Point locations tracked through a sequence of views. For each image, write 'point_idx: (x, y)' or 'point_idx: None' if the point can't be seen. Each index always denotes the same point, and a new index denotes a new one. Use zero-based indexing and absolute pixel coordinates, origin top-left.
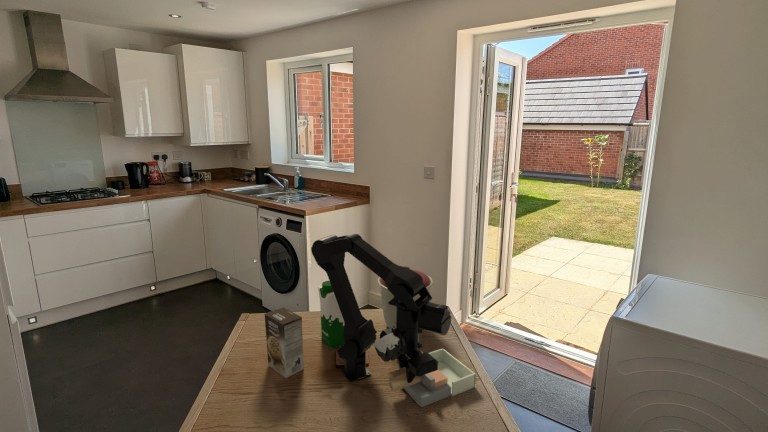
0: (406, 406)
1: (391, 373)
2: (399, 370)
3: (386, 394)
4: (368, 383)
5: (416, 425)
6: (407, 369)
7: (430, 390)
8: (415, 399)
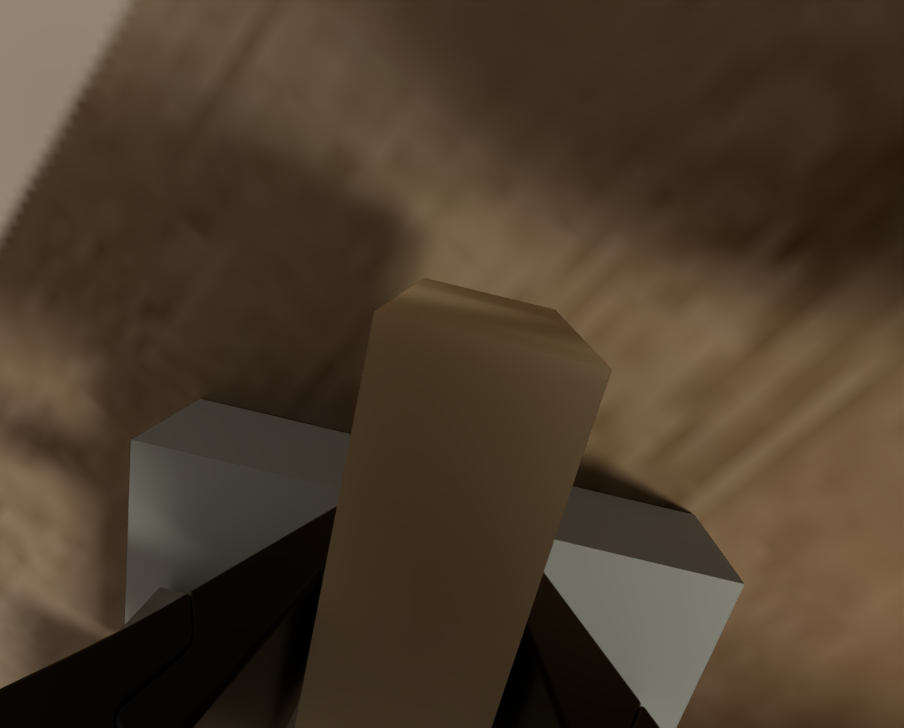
0: (293, 304)
1: (536, 381)
2: (482, 577)
3: (573, 279)
4: (881, 254)
5: (29, 182)
6: (69, 704)
7: (159, 591)
8: (294, 429)
